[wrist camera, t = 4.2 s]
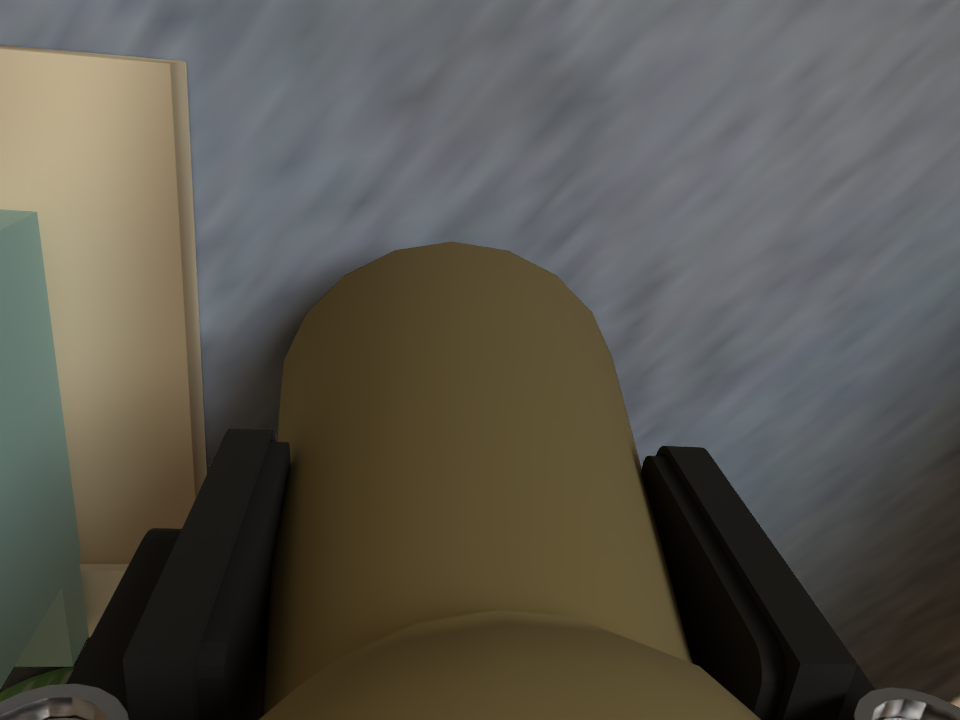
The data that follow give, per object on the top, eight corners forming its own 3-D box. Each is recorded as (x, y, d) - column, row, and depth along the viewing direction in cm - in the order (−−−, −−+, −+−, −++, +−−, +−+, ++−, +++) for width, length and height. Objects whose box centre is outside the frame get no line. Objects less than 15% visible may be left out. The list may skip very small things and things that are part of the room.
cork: (631, 242, 13) (1378, 965, 3) (601, 541, 15) (959, 1511, 5) (264, 241, 13) (-340, 1103, 2) (291, 550, 15) (40, 1639, 5)
